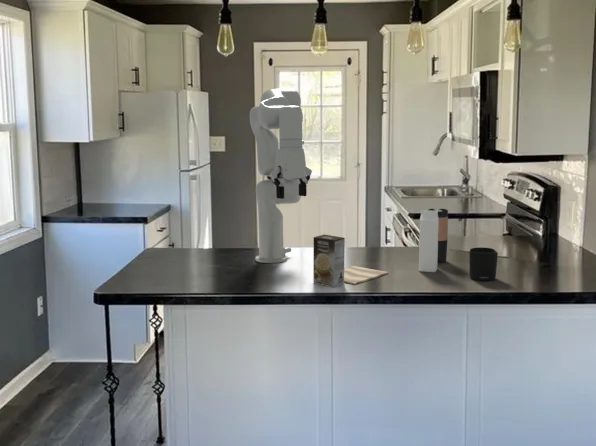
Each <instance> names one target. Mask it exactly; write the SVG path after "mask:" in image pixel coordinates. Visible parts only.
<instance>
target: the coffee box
mask: <svg viewBox="0 0 596 446" xmlns="http://www.w3.org/2000/svg"><path fill="white" fill-rule="evenodd" d="M345 239H346V238H345V237H344V236H343V237H341V236H336V235H330V234H321V235H317V236H314V237H313V279H312V280H313V281H312V282H314V283H313V284H317V283H318V284H317V285H321V284H323V285H322V286H326V285H327V287H331V288H335V287H338V286H342V285H344V284H345V283H344V268H345V248H346V247H345V246H346V245H345Z"/></svg>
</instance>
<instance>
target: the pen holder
mask: <svg viewBox="0 0 596 446" xmlns="http://www.w3.org/2000/svg"><path fill="white" fill-rule="evenodd" d="M468 254H469V278H470V279H471V280H473V281H479V282H491V281H495V279H496V276H497V265H498V254H499V253H498V252H497V251H496V250H495V249H494V248H491V247H473V248H472V247H471V248H470V249H469V253H468Z"/></svg>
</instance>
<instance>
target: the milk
mask: <svg viewBox="0 0 596 446" xmlns="http://www.w3.org/2000/svg"><path fill="white" fill-rule="evenodd" d="M418 239H419V241H418V243H419V244H418V246H419V247H418V272H426V273H436V272H437V270H438V263H437V257H438V211H431V210H429V209H427V210H426V209H423V210H422V209H421V211H420V217H419V238H418Z"/></svg>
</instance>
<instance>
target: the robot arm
mask: <svg viewBox="0 0 596 446" xmlns="http://www.w3.org/2000/svg"><path fill="white" fill-rule="evenodd" d="M301 103H302V100H301V95H300V93H299V92H298V91H297V90H296V89H293V88H272V89H267V90H266V91H264V92H263V93H262V95H261V97H260V103H259V105H256V106H253V107H252V108H251V109H250V111H249V123H250V128H251V131H252V133H253V136H254V137H255V142H256V155H257V168H258V172H259V174H260V175H261V176H262V177H270V178H271V179H265V180H261V181H258V182H257V184H256V186H255V196H256V203H257V211H258V250H259V251H258V254H259V255H256V256H255V261H256V262H258V263H263V264H279V263H285V262H286V261H288V256H287V255H286V254H287V253H291V252H292V248H291V247H290V246H289V247H285V246H284V216H283V213H282V211H281V210H280V209H279V208H278V207H277V205H287V204H288V205H289V204H298V203H299V202H300V200H301V198H302V197H307V194H308V193H307V190H308V189H307V184H309V180H310V179H311V176H312V172H313V170H312V169H310V168H309V167H307V163H306V162H307V161H306V155H305V150H304V148H303V145H304V143H305V141H304V140H303V122H304V115H303V109H302V107H301V106H302V105H301ZM276 129H277V130H278V136H279V137H277V135H276V134H275V132H274V131H272V130H276ZM278 138H279V139H278Z"/></svg>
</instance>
